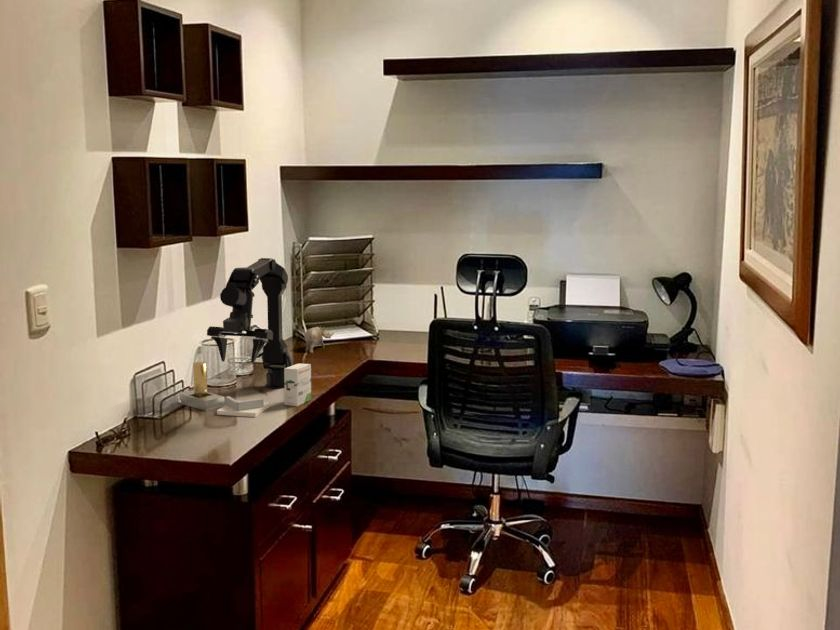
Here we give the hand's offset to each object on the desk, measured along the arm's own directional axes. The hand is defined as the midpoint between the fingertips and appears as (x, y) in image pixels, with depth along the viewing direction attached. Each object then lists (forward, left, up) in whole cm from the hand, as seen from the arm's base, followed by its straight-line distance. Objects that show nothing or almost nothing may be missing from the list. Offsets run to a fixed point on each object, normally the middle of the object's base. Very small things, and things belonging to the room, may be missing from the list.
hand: (237, 362), depth 247 cm
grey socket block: (+5, -16, -15) cm, 22 cm away
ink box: (-20, 0, -16) cm, 26 cm away
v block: (-2, -2, -15) cm, 16 cm away
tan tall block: (+5, -16, -15) cm, 22 cm away
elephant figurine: (-72, -67, -16) cm, 100 cm away
